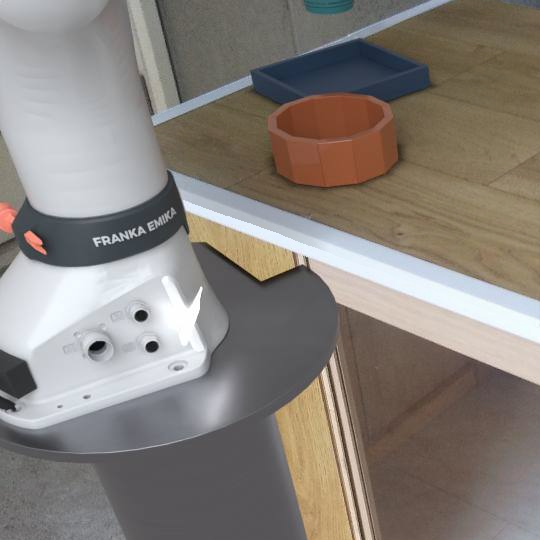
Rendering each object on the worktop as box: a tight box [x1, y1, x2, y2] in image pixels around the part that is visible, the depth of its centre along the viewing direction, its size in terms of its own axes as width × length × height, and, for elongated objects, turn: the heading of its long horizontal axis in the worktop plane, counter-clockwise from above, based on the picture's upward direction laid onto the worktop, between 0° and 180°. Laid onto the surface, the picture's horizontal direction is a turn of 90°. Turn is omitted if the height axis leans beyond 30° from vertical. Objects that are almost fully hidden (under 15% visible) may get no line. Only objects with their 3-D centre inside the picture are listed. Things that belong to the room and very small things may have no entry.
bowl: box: [267, 92, 400, 188], centre depth 114 cm, size 14×14×5 cm
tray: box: [249, 37, 431, 106], centre depth 130 cm, size 18×16×3 cm
